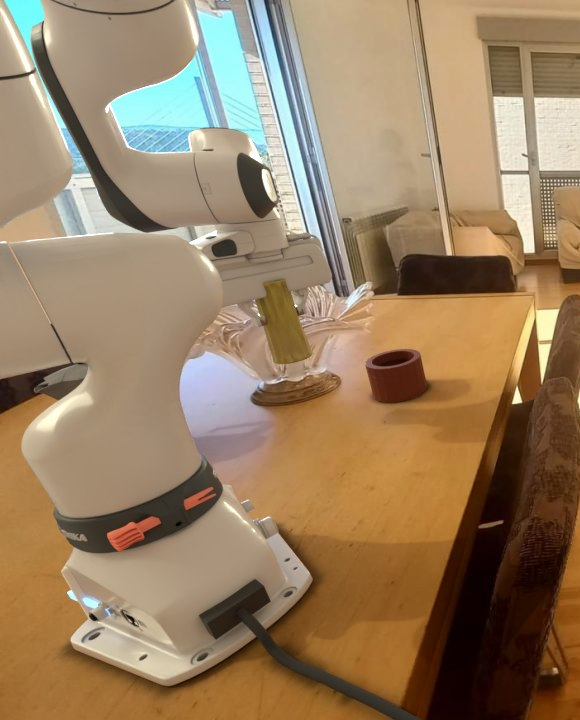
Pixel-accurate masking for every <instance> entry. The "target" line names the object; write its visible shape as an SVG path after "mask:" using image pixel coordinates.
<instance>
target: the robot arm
mask: <svg viewBox="0 0 580 720" xmlns="http://www.w3.org/2000/svg"><path fill="white" fill-rule="evenodd" d="M39 1H40V4H41V6H42V10H43V15H44V19H43V20H42V21H40V22H38V23H37V24H34V25H33V26H32V27H31V29H30V47H31V53H32V55H31V53H30V51H29V48H28V45H27V44H26V41H25V38H24V36H23V35H22V32H21V29H20V28H19V26H18V23H17V22H16V20H15V18H14V16H13V14H12V12H11V10H10V8H9V6H8V5H7V2H6V1H5V0H0V232H1V231H2V229H4V228H5V227H6V226H7V225H8V224H10V223H12V222H13V221H14V220H16V219H18V218H20V217H22V216H25V215H26V214H29V213H31V212H33V211H35V210H37V209H40V208H42V207H43V206H46V205H47V204H49V203H50V202H52V201H53V200H55V199H56V198H57V197H58V196H59V195H60V194H61V193H62V192H63V191H64V190H65V189H66V188H67V187H68V185H69V183H70V181H71V179H72V177H73V174H74V159H73V156H72V154H71V151H70V149H69V146H68V144H67V141H66V138H65V136H64V134H63V132H62V129H61V126H60V124H59V122H58V119H57V116H56V114H55V112H54V109H53V107H52V104H51V101H52V103H53V105H54V107H55V109H56V111H57V112H58V114H59V117H60V118H61V120H62V122H63V124H64V126H65V128H66V130H67V131H68V134H69V135H70V138H71V139H72V141H73V143H74V145H75V148H76V149H77V151H78V153H79V154H80V156H81V158H82V160H83V162H84V164H85V166H86V168H87V170H88V173H89V175H90V177H91V180H92V182H93V184H94V187H95V190H96V194H97V196H98V199H99V200H100V201H101V204H102V205H103V207H104V209H105V210H106V213H108V215H110V217H112V218H113V219H115V220H117V221H118V222H119V223H122V224H124V225H126V226H127V227H129V228H132V229H134V230H137V231H139V232H105V233H94V234H84V235H73V236H61V237H53V238H52V237H51V238H50V237H49V238H41V239H30V240H21V241H9V242H7V241H0V380H2V379H8V378H12V377H16V376H20V375H26V374H29V373H33V372H39V371H43V370H46V369H50V368H56V367H60V366H64V365H68V364H71V363H72V364H77V363H86V364H88V372H87V375H86V377H85V379H84V380H83V382H82V383H81V384H80V385H79V386H78V387H77V388H76V389H74V390H73V391H72V392H71V393H69V394H68V395H66V396H65V397H63V398H62V399H60V400H59V401H58V400H56V401H55V402H54V403H53V404H52V405H50V406H48V407H47V408H46V409H45V410H43V411H42V412H41V413H39V414H38V415H37V416H36V417H35V419H33V420H32V421H31V423H30V424H29V425H27V427H26V429H25V430H24V433H23V435H22V438H21V443H20V445H21V446H20V447H21V449H20V450H21V454H22V457H23V458H24V460H25V462H26V463H27V464H28V466H29V468H30V469H31V471H32V472H33V474H34V475H35V477H36V479H37V480H38V482H39V484H40V485H41V487H42V488H43V489H44V492H45V493H46V495H47V496H48V497H49V499H50V500H51V502H52V503H53V505H54V509H53V513H52V515H53V518H54V520H55V522H56V526H57V529H58V530H59V532H60V533H61V535H62V536H64V537H65V538H66V540H67V542H68V543H69V544H70V546H72V547H73V548H72V551H71V553H70V555H69V558H68V559H67V561H66V563H65V564H64V565H63V567H62V569H61V571H60V573H61V575H62V577H63V578H64V580H65V582H66V584H67V585H68V587H69V589H70V590H68V591H67V592H66V593H67V595H68V597H69V598H70V599H71V600H73V601H76V602H77V603H78V605H80V607H81V609H82V611H83V612H84V614H85V616H86V618H87V619H86V620H85V621H84V622H83V623H82V624H81V625H80V626H79V627H78V628H77V629H76V630H75V631H74V633H73V634H72V635H71V637H70V645H71V646H72V648H73V649H74V650H75V651H77V652H79V653H81V654H84V655H86V656H89V657H92V658H94V659H96V660H99V661H101V662H104V663H106V664H109V665H111V666H114V667H115V668H118V669H121V670H123V671H126V672H128V673H130V674H133V675H136V676H138V677H141V678H142V679H145V680H148V681H149V682H153V683H156V684H157V685H161V686H163V687H164V686H165V687H173V686H175V685H178V684H180V683H183V682H185V681H187V680H190V679H192V678H193V677H196V676H199V675H200V674H202V673H204V672H206V671H207V670H209V669H211V668H213V667H214V666H216V665H217V664H219V663H221V662H222V661H224V660H226V659H228V658H229V657H230V656H232V655H233V654H235V653H236V652H238V651H239V650H241V649H242V648H244V647H245V646H246V645H247V644H249V643H250V642H251V641H253V640H255V639H256V638H257V640H258V641H259V642H260V644H261V646H262V647H263V648H264V650H265V651H266V652H267V653H268V654H269V655H270V656H271V658H273V659H274V660H276V661H277V662H278V663H279V664H280V665H282V666H283V667H284V668H287V669H288V670H290V671H292V672H293V673H296V674H298V675H301V676H303V677H306V678H308V679H311V680H312V681H316V682H317V683H320V684H322V685H323V686H326V687H329V689H332V690H333V691H336V692H338V693H340V694H343V695H344V696H347V697H349V698H351V699H353V700H354V701H357V702H359V703H361V704H364V705H365V706H367V707H369V708H371V709H373V710H375V711H377V712H379V713H381V714H383V715H385V716H386V717H388V718H390V719H392V720H422V719H421V718H419V717H417V716H415V715H413V713H411V712H408V711H407V710H405V709H403V708H401V707H399V706H398V705H395V704H394V703H392V702H391V701H388V700H386V699H384V698H382V697H380V696H378V695H376V694H374V693H372V692H370V691H368V690H365V689H363V688H361V687H359V686H357V685H355V684H353V683H350V682H348V681H346V680H344V679H342V678H340V677H338V676H335V675H334V674H331V673H329V672H328V671H325V670H322V669H320V668H318V667H315V666H312V665H310V664H307V663H304V662H302V661H300V660H298V659H297V658H294V657H293V656H291V655H290V654H288V653H287V652H286V651H285V650H283V649H282V648H281V647H280V646H279V645H278V644H277V643H276V642H275V640H274V639H273V637H272V636H271V634H270V633H269V632H268V630H267V629H268V628H270V627H271V626H273V625H274V624H275V623H276V622H277V621H278V620H279V619H281V618H282V617H283V616H284V615H285V614H286V613H287V612H289V610H290V609H292V608H293V607H294V606H295V605H296V604H297V603H298V601H299V600H300V599H301V598H302V597H303V596H304V595H305V593H306V592H307V591H308V589H309V588H310V586H311V584H312V583H313V580H314V579H313V576H312V574H311V572H310V571H309V569H308V568H307V567H306V565H305V564H304V563H303V562H302V561H301V559H300V558H299V557H298V556H297V555H296V553H295V552H294V551H293V549H292V548H291V546H289V545H288V543H287V541H286V540H285V539H284V538H283V537H282V536H281V534H280V533H279V532H280V531H279V527H278V526H277V524H276V522H275V520H274V519H273V517H272V516H267V517H265V518H262V519H260V520H259V518H255V519H252V517H250V515H249V513H250V512H252V511H253V510H255V507H254V504H253V502H252V500H251V499H250V498H249V499H245V500H243V501H242V502H241V501H239V500H238V498H237V496H236V494H235V492H234V489H233V487H232V485H231V484H224V483H222V482H221V480H220V479H219V477H218V473H217V472H216V469H215V468H214V467H213V465H212V464H211V463H210V462H209V460H208V459H207V458H206V456H205V455H203V454H202V453H201V452H199V450H198V448H197V445H196V443H195V441H194V439H193V436H192V434H191V430H190V428H189V424H188V422H187V419H186V416H185V412H184V409H183V405H182V401H181V391H180V387H181V379H182V378H181V377H182V373H183V369H184V366H185V363H186V360H187V358H188V356H189V354H190V352H191V350H192V348H193V347H194V345H195V343H196V342H197V341H198V339H199V338H200V337H201V336H202V335H203V333H204V332H205V331H206V330H207V329H208V328H209V327H210V326H211V325H212V324H213V323H214V322H215V321H216V319H217V318H218V316H219V314H220V312H221V310H222V308H227V307H230V306H235V305H236V306H237V308H238V309H239V310H240V311H241V312H242V313H244V314H245V315H246V316H248V317H249V319H250V321H251V323H252V326H253V327H255V328H261V327H263V326H264V325H267V321H266V317H265V315H261V314H259V313H257V312H256V311H254V310H253V309H252V308H254V307H255V304H254V302H253V301H255V300H257V299H261V298H265V297H266V290H265V288H264V286H263V284H262V283H267V282H273V281H278V280H282V279H285V280H286V285H287V288H288V291H289V292H291V293H293V295H295V296H296V299H295V302H294V304H295V307H296V310H297V313H298V317H301V316H304V315H307V313H308V311H307V307H306V303H307V300H308V297H309V291H308V289H309V288H312V287H317V286H321V285H325V284H329V283H331V281H332V278H333V273H332V270H331V268H330V265H329V263H328V259H327V258H326V256H325V253H324V252H323V251H324V250H323V245H322V242H321V239H320V238H319V237H317V236H316V235H314V234H312V233H310V232H301V233H292V234H286V230H285V228H284V225H283V221H282V218H281V215H280V213H279V212H278V210H277V208H276V206H277V205H278V204H279V202H280V197H279V194H278V191H277V190H278V189H277V187H276V184H275V181H274V177H273V174H272V171H271V169H270V168H269V167H268V166H267V165H265V164H264V163H263V160H262V158H261V156H260V154H259V151H258V149H257V147H256V145H255V144H254V141H253V139H252V138H251V136H250V135H249V134H248V133H246V132H243V131H241V130H239V129H234V128H228V127H218V126H217V127H216V126H211V127H210V126H209V127H200V128H198V129H194V130H192V131H190V132H189V133H188V144H189V149H190V151H166V152H150V151H144V150H143V151H142V150H139V149H135V148H133V147H131V146H129V144H128V142H127V140H126V137H125V136H124V133H123V130H122V129H121V126H120V124H119V121H118V119H117V116H116V114H115V112H114V109H113V107H112V105H111V103H113V102H114V101H116V100H117V99H119V98H122V97H124V96H126V95H128V94H131V93H133V92H136V91H140V90H143V89H146V88H149V87H150V88H151V87H154V86H157V85H161V84H163V83H166V82H168V81H171V80H173V79H174V78H176V77H177V76H178V75H180V74H181V73H182V72H183V71H185V70H186V68H188V66H190V64H191V63H192V61H193V60H194V58H196V57H195V56H196V54H197V51H198V48H199V44H200V33H199V28H198V25H197V21H196V18H195V15H194V11H193V9H192V6H191V3H190V1H189V0H39ZM32 56H33V58H32ZM46 90H47V92H46ZM47 94H48V95H47ZM48 96H49V97H48ZM49 98H50V100H51V101H50V100H49ZM204 226H214V228H215V230H214V231H212V232H211V233H208V234H205V235H204V236H203V235H202V236H201V237H198V238H197V239H195V240H192V241H190V242H189V241H188V240H186V239H184V238H182V237H180V236H178V235H174V234H173V235H172V234H158V233H155V232H162V231H169V230H176V229H179V228H192V227H204ZM140 232H141V233H140ZM10 247H11V248H10ZM12 251H13V252H12Z"/></svg>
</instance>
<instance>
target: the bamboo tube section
mask: <svg viewBox="0 0 580 720" xmlns="http://www.w3.org/2000/svg"><path fill="white" fill-rule="evenodd" d="M262 284H263V286H264V288H265V290H266V297H265V298H261V299H257V300H254V302H255V305H256V308H257V311H258V314H261V315H265V317H266V321H267V325H264V326H262V327H263V330H264V334H265V338H266V342H267V344H268V348H269V351H270V354H271V358H272V363H274V364H276V365H290V364H294V363H299V362H302V361H305V360H307V359H309V358H310V357H313V355H314V352H313V350H312V348H311V345H310V342H309V340H308V338H307V337H308V336H307V335H306V332H305V330H304V328H303V325H302V322H301V319H300V316H298V313H297V310H296V307H295V301H294V298H293V295H292V291H291V292H289V291H288V288H287V285H286V280H285V279H282V280H278V281H273V282H267V283H262Z"/></svg>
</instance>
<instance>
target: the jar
mask: <svg viewBox="0 0 580 720" xmlns="http://www.w3.org/2000/svg"><path fill="white" fill-rule="evenodd" d="M364 366H365V370H366V373H367V377H368V380H369V385H370V388H371V392H372V396H373V398H374V400H376V401H377V402H380V403H387V404H388V403H389V404H390V403H391V404H392V403H400V402H404V401H408V400H411V399H415V398H417V397H418V396H420V395H422V394H423V393H424V392H425V391H426V390H427V388H428V384H427V378H426V374H425V369H424V365H423V360H422V354H421V352H420V351H418V350H416V349H412V348H399V349H398V348H397V349H391V350H387V351H382V352H380V353H376V354H375V355H372V356H370V357H369V358H368V359H366V361H365V362H364Z"/></svg>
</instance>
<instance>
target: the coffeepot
mask: <svg viewBox="0 0 580 720" xmlns="http://www.w3.org/2000/svg"><path fill="white" fill-rule="evenodd" d="M87 372H88V364H86V363H75V364H73V365H70V366H66V367H64V368H61V369H60V370H57V371H55V372H52V373H50V374H49V375H47V376H44V377H43V380H44V381H43V382H41V383H39V384H38V385H36V386H35V387H34V388H33V392H34V393H35V394H43V395H45V396H47V397H50V398H52V399H54V400H56V401H59V400H60V399H62V398H63V397H65V396H66V395H68V394H69V393H71V392H72V391H73V390H74V389H76V388H77V387H78V386H79V385H80V384H81V383H82V382H83V380H84V379H85V377H86V375H87Z"/></svg>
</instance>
